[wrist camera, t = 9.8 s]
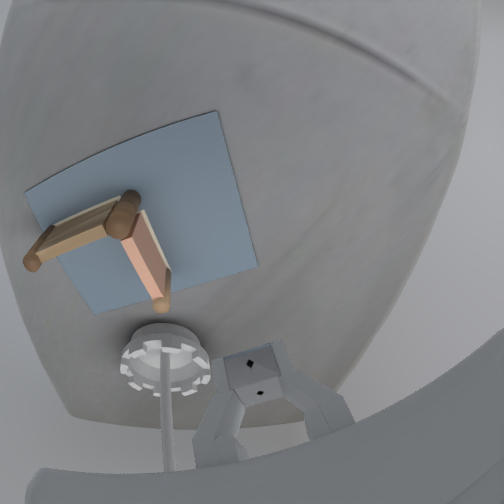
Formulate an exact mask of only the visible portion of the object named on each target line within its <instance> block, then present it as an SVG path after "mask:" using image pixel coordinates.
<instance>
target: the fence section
mask: <svg viewBox="0 0 504 504" xmlns="http://www.w3.org/2000/svg"><path fill="white" fill-rule="evenodd" d="M121 243H122V245H123V247H124V249H125V251H126V253H127V255H128V257H129V259H130V261H131V262H132V264H133V266H134V268H135V270H136V272H137V273H138V275H139V277H140V279H141V281H142V282H143V284H144V286H145V287H146V289H147V291H148V293H149V294H150V296H151V298H152V299H153V309H154V310H155V311H156V312H158V313H166V312H168V311H169V309H170V292H171V270H170V269H169V268H167V267H166V265H165V263H164V261H163V259H162V257H161V255H160V253H159V251H158V249H157V247H156V245H155V242H154V240H153V238H152V236H151V234H150V232H149V229H148V227H147V225H146V223H145V220H144V218H143V216H142V214H141V212H140V213H137V214H136V216H135V219H134V221H133V224H132V227H131V229H130V232H129V234H128V236H127V237H125V238H123V239H121Z"/></svg>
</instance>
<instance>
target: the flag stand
mask: <svg viewBox="0 0 504 504" xmlns="http://www.w3.org/2000/svg"><path fill="white" fill-rule="evenodd" d="M120 371H121V374H126V375H127V376H128V382H127V383H128V384H129V385H130V386H132V387H133V388H135V389H137V390H138V391H139V390H141V389H142V388H143V387H146V388H149V389H152V390H153V396H159V397H160V412H161V434H162V451H163V464H164V472H174V471H177V467H176V457H175V446H174V434H173V420H172V402H171V391H181V393H182V394H183V395H184V396H186V395H189V394H192V393H195V392H197V385H198V384H200V383H203V384H207V383H208V382H209V380H210V377H211V372H210V364H209V357H208V355H207V353H206V351H205V350H204V349H203V348H202V347H201V346H200V342H199V340H198V338H197V337H196V335H195V334H194V333H192V332H191V331H190V330H188V329H186V328H184V327H182V326H179V325H176V324H171V323H153V324H148V325H146V326H143V327H141V328H140V329H138V330H137V331H136V332H135V333H134V334H133V336H132V337H131V341H130V342H129V343H128V344H127V345H126V346H125V348H124V350H123V352H122V358H121V366H120Z"/></svg>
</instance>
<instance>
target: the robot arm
mask: <svg viewBox="0 0 504 504" xmlns="http://www.w3.org/2000/svg"><path fill="white" fill-rule="evenodd" d="M211 365H212V371H213V376H214V382H215V388H216V393H217V394H215V395H213V397H212V399H211V401H210V403H209V405H208V407H207V410H206V412H205V414H204V416H203V418H202V420H201V422H200V424H199V426H198V429H197V431H196V433H195V435H194V437H193V439H192V442H193V450H194V457H195V463H196V469H192V470H184V471H174V472H162V473H144V474H101V473H86V472H75V471H65V470H57V469H51V468H40V469H39V470H38V471H37V472H36V474H35V475H34V477H33V478H32V479H31V481H30V483H29V484H28V486H27V489H26V494H25V504H504V328H503V329H501V330H499V331H498V332H497V333H496V334H495V335H493V336H492V337H491V338H490V339H489V340H488V341H486V342H485V343H484V344H483V345H482V346H480V347H479V348H478V349H477V350H475V351H474V352H473V353H472V354H470V355H469V356H468V357H466V358H465V359H464V360H463V361H461V362H460V363H458V364H457V365H456V366H454V367H453V368H451V369H450V370H448V371H447V372H446V373H444V374H443V375H441V376H440V377H438V378H437V379H435V380H434V381H432V382H431V383H429V384H428V385H426V386H424V387H423V388H421V389H419V390H418V391H416V392H414V393H413V394H411V395H409V396H407V397H406V398H404V399H403V400H400V401H399V402H397V403H395V404H393V405H391V406H389V407H387V408H385V409H384V410H382V411H380V412H378V413H376V414H374V415H371V416H370V417H367V418H365V419H363V420H361V421H359V422H357V423H355V421H354V419H353V416H352V415H351V412H350V410H349V408H348V406H347V404H346V402H345V400H344V398H343V396H341V395H340V394H338V393H336V392H335V391H333V390H331V389H329V388H328V387H326V386H324V385H323V384H321V383H319V382H318V381H316V380H314V379H313V378H311V377H310V376H308V375H306V374H305V373H303V372H302V371H300V370H296V371H295V369H294V367H293V364H292V362H291V359H290V357H289V354H288V352H287V349H286V347H285V345H284V342H283V340H282V339H280V340H277V341H275V342H272V343H267V344H265V345H262V346H259V347H255V348H252V349H249V350H247V351H244V352H241V353H237V354H233V355H230V356H226V357H222V358H218V359H214V360H212V363H211ZM283 396H284V397H285V398H286V399H287V400H289V401H290V402H291V403H293V404H294V405H295V406H296V407H298V408H299V409H300V410H302V411H303V412H304V413H305V414H304V419H305V425H306V430H307V434H308V437H309V440H310V441H309V442H306V443H303V444H300V445H297V446H294V447H291V448H288V449H285V450H281V451H278V452H274V453H271V454H267V455H263V456H259V457H255V458H251V459H250V458H249V454H248V451H247V449H246V448H244V446H242V445H241V444H240V443H239V442H238V441H237V440H236V436H237V433H238V430H239V427H240V424H241V421H242V418H243V415H244V412H245V408H246V407H249V406H252V405H256V404H259V403H262V402H265V401H269V400H272V399H276V398H279V397H283Z"/></svg>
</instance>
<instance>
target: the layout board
mask: <svg viewBox="0 0 504 504" xmlns="http://www.w3.org/2000/svg"><path fill="white" fill-rule="evenodd" d="M128 190H134V191H136V192H138V193H139V194H140V196H141V204H140V206H139V209H138V211H137V213H140V212H141V214H142V216H143V218H144V220H145V223H146V225H147V227H148V229H149V232H150V234H151V236H152V238H153V240H154V242H155V245H156V247H157V249H158V251H159V253H160V255H161V257H162V259H163V261H164V263H165V265H166V267H167V268H169V269H170V270H171V292H170V293H172V292H175V291H179V290H182V289H185V288H189V287H192V286H195V285H199V284H202V283H206V282H209V281H212V280H216V279H219V278H222V277H225V276H229V275H232V274H235V273H239V272H242V271H245V270H249V269H252V268H255V267H258V265H257V261H256V257H255V253H254V249H253V246H252V242H251V238H250V234H249V230H248V227H247V223H246V219H245V215H244V211H243V208H242V204H241V200H240V196H239V192H238V189H237V185H236V181H235V177H234V173H233V170H232V166H231V162H230V158H229V155H228V151H227V147H226V143H225V140H224V136H223V132H222V128H221V124H220V121H219V117H218V113H217V111H214V112H210V113H207V114H203V115H200V116H196V117H193V118H190V119H187V120H183V121H180V122H177V123H174V124H171V125H168V126H165V127H162V128H160V129H157V130H154V131H151V132H149V133H146V134H143V135H141V136H138V137H136V138H133V139H130V140H128V141H126V142H123V143H121V144H118V145H116V146H114V147H111V148H109V149H107V150H104V151H102V152H100V153H98V154H96V155H94V156H91V157H89V158H87V159H85V160H83V161H81V162H79V163H77V164H75V165H73V166H71V167H69V168H67V169H65V170H63V171H61V172H60V173H58V174H56V175H54V176H52V177H50V178H49V179H47V180H45V181H43V182H42V183H40V184H38V185H36V186H35V187H33V188H31V189H30V190H28V191H27V192H25V193H24V194H25V196H26V198H27V200H28V203H29V205H30V207H31V209H32V211H33V213H34V215H35V217H36V219H37V221H38V223H39V225H40V227H41V229H42V231H43V232H44V231H45V230H46V229H47V228H48V226H50V225H54V226H58V225H60V224H62V223H64V222H66V221H68V220H70V219H73V218H75V217H77V216H79V215H82V214H84V213H86V212H88V211H91V210H93V209H95V208H98V207H100V206H103V205H105V204H107V203H110V202H112V201H115V200H117V201H118V202H119V200H120V198H121V197H122V195H123V194H124V193H125V192H126V191H128ZM57 258H58V260H59V262H60V263H61V265H62V267H63V268H64V270H65V271H66V273H67V275H68V276H69V278H70V279H71V281H72V283H73V284H74V286H75V287H76V289H77V290H78V292H79V293H80V295H81V296H82V298H83V299H84V300H85V302H86V303H87V305H88V306H89V308H90V309H91V310H92V312H93V313H94V315H95V314H98V313H102V312H105V311H109V310H113V309H116V308H120V307H123V306H127V305H130V304H134V303H137V302H141V301H144V300H148V299H151V296H150V294H149V293H148V291H147V289H146V287H145V286H144V284H143V282H142V281H141V279H140V277H139V275H138V273H137V272H136V270H135V268H134V266H133V264H132V262H131V261H130V259H129V257H128V255H127V253H126V251H125V249H124V247H123V245H122V243H121V239H114V238H112V237H111V236H109V234H108V236H106V237H104V238H101V239H99V240H96V241H93V242H91V243H88V244H86V245H83V246H81V247H78V248H76V249H73V250H71V251H68V252H66V253H64V254H61V255H59V256H57Z"/></svg>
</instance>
